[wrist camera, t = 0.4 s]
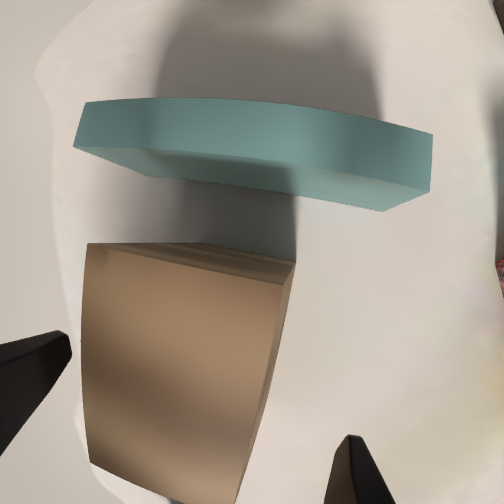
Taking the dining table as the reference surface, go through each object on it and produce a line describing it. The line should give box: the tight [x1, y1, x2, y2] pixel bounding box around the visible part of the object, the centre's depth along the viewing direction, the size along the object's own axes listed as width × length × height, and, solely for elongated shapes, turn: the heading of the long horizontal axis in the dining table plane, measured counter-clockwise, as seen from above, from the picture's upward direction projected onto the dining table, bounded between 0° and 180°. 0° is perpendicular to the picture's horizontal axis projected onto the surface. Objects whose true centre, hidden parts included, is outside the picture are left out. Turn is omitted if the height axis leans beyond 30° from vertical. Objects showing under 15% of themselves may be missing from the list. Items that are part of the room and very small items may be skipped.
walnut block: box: [81, 243, 296, 504], centre depth 18 cm, size 12×8×14 cm, turn 170°
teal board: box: [73, 98, 433, 212], centre depth 19 cm, size 3×20×10 cm, turn 80°
